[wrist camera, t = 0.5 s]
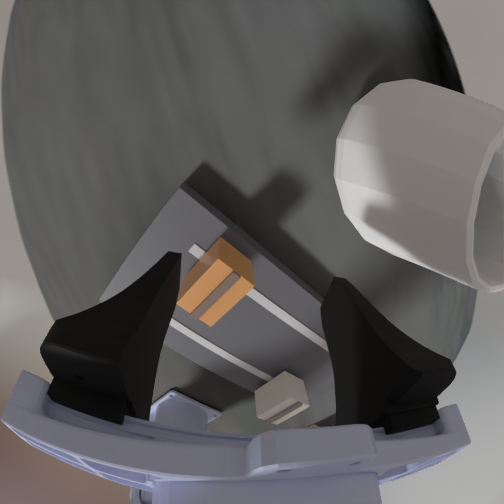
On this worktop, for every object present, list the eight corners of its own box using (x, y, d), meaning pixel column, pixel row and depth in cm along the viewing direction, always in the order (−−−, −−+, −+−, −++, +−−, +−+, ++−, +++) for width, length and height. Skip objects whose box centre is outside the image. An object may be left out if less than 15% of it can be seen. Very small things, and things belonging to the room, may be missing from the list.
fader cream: (273, 399, 29) (277, 426, 25) (254, 391, 28) (257, 419, 24) (303, 380, 27) (310, 408, 24) (284, 370, 27) (290, 399, 23)
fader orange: (213, 298, 22) (210, 329, 19) (183, 277, 21) (175, 306, 18) (251, 261, 21) (255, 288, 18) (220, 236, 20) (217, 260, 17)
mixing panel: (291, 398, 33) (293, 410, 31) (106, 288, 24) (98, 300, 22) (372, 339, 29) (379, 351, 27) (184, 181, 21) (179, 187, 19)
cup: (458, 192, 22) (562, 250, 9) (357, 260, 24) (438, 371, 12) (411, 65, 17) (539, 51, 4) (285, 125, 19) (371, 126, 7)
